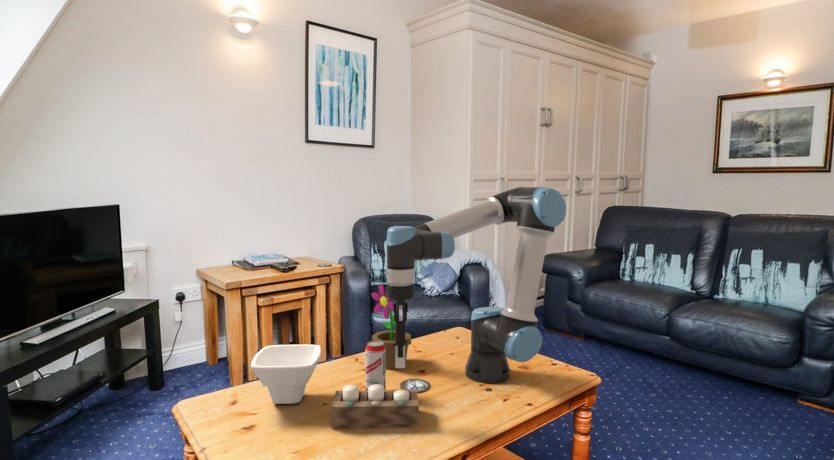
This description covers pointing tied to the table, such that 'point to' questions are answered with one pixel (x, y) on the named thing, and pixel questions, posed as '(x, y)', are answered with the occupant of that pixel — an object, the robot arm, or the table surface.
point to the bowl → (286, 370)
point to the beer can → (375, 364)
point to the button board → (375, 411)
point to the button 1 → (351, 393)
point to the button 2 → (401, 395)
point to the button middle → (376, 392)
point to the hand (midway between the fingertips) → (400, 367)
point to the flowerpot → (388, 336)
